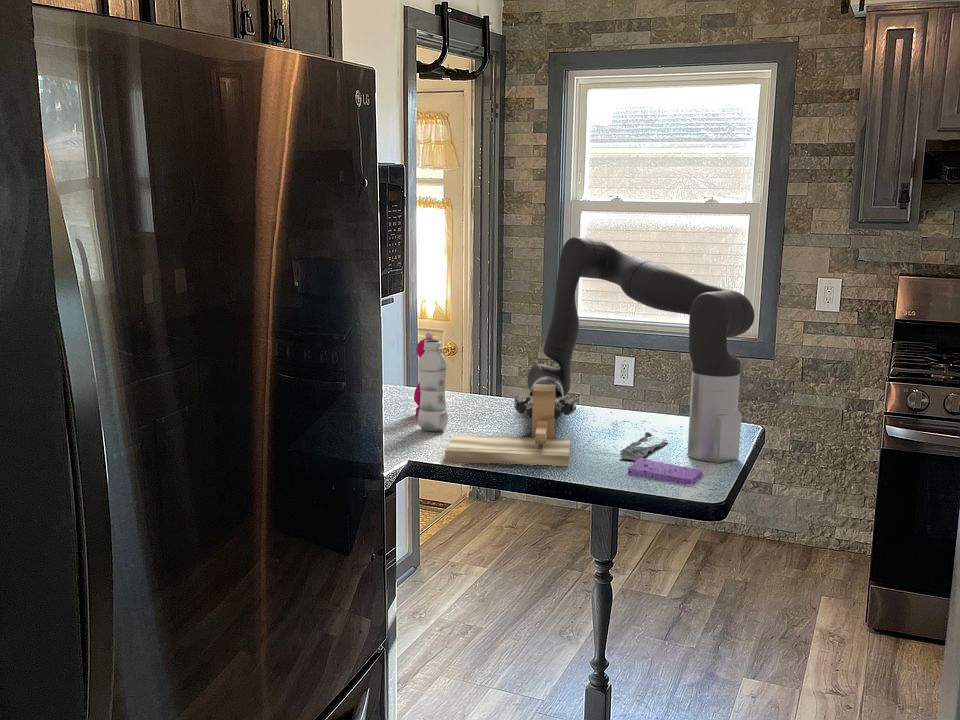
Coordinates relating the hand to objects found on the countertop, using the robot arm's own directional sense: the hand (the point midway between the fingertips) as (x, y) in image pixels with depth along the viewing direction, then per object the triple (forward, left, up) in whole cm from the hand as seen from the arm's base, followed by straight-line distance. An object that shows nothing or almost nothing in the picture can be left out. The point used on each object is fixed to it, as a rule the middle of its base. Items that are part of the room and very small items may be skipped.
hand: (543, 413), depth 180 cm
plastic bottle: (+23, +13, -7) cm, 27 cm away
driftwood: (-12, -17, -8) cm, 22 cm away
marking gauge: (-3, +2, -7) cm, 8 cm away
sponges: (-27, -8, -8) cm, 29 cm away
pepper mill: (+35, +7, -7) cm, 36 cm away
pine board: (-2, +10, -7) cm, 12 cm away
